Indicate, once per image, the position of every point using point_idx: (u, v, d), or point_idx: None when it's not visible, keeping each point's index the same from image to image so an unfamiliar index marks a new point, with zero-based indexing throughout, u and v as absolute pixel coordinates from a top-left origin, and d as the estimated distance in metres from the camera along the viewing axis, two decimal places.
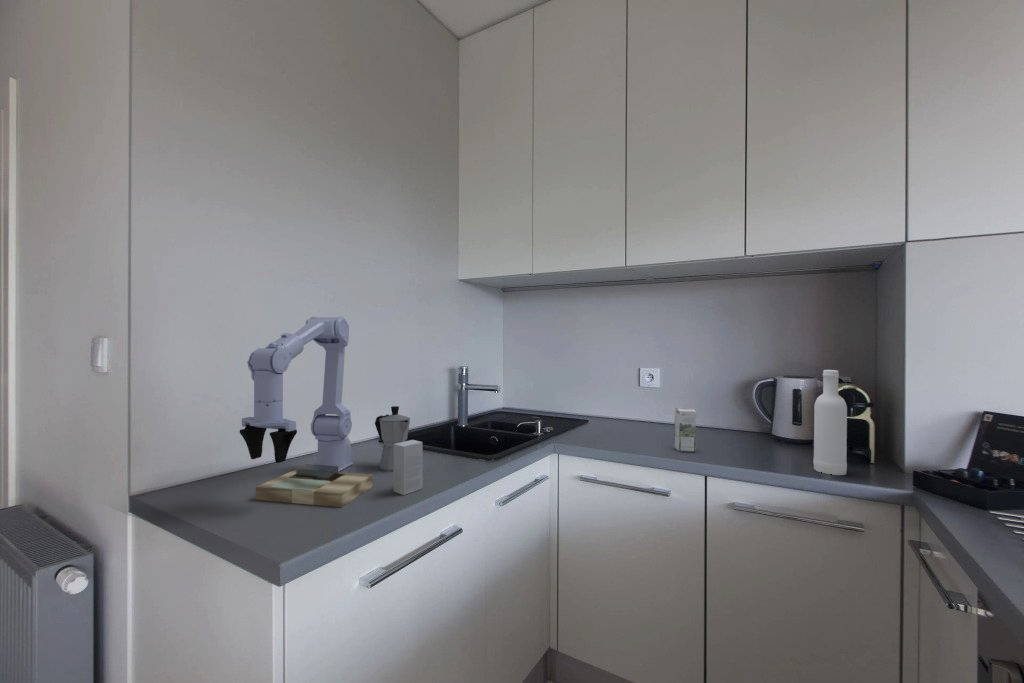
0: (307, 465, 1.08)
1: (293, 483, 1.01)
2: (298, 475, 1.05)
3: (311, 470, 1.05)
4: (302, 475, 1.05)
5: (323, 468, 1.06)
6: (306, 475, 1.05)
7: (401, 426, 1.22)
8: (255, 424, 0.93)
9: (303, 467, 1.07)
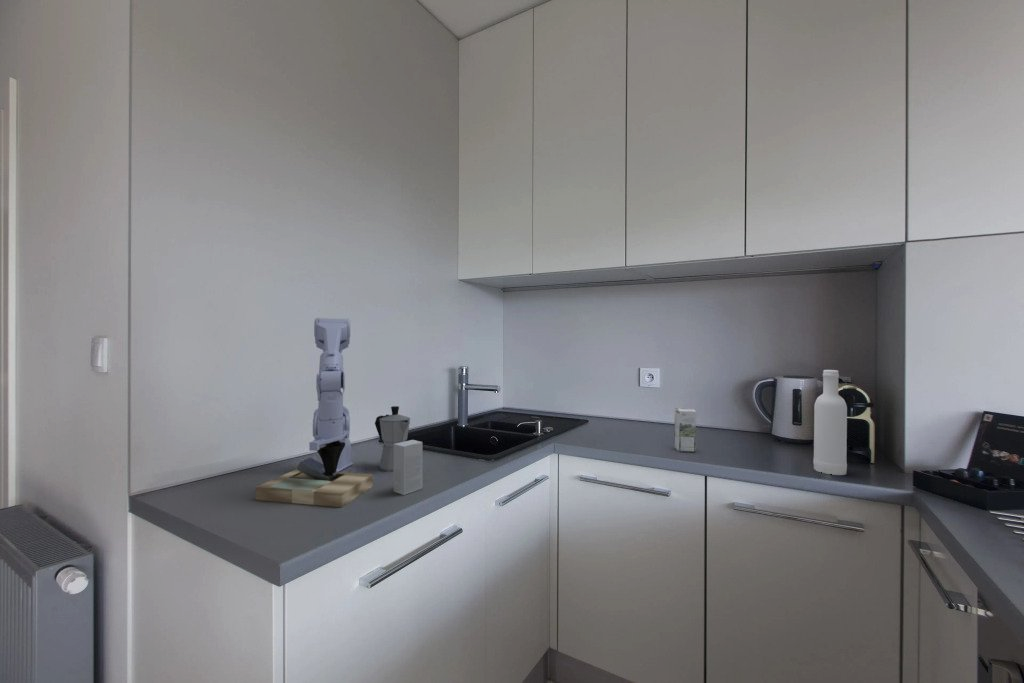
0: (310, 460, 1.08)
1: (293, 483, 1.01)
2: (299, 468, 1.05)
3: (313, 470, 1.05)
4: (303, 470, 1.05)
5: None
6: (307, 472, 1.05)
7: (401, 426, 1.22)
8: (314, 437, 1.06)
9: (306, 462, 1.06)
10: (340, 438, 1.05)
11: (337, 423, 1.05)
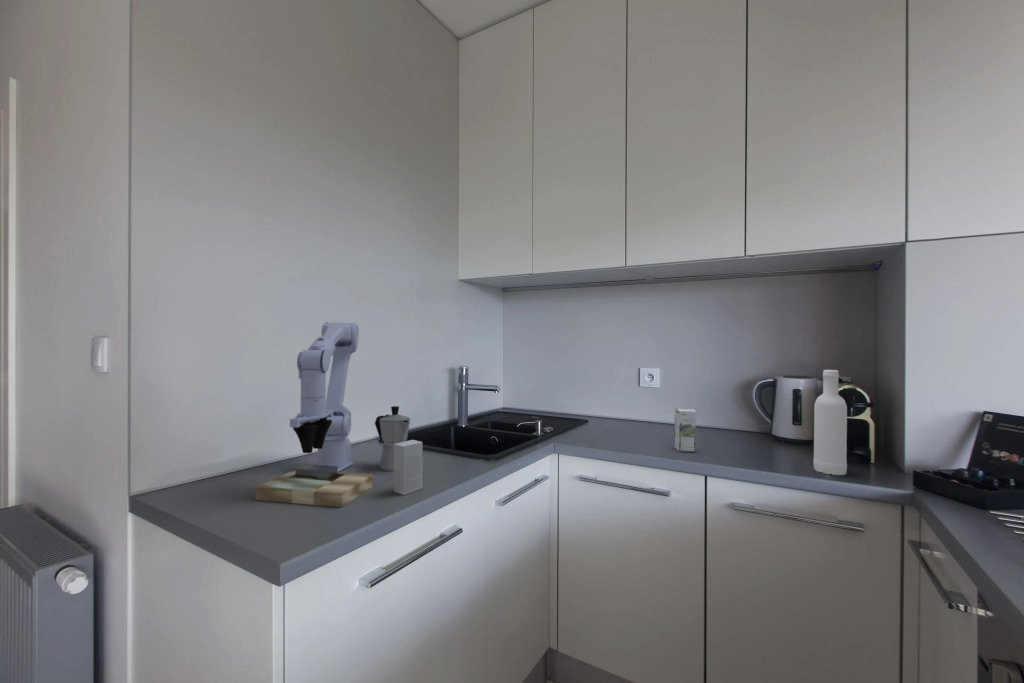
0: (306, 465, 1.08)
1: (293, 483, 1.01)
2: (297, 475, 1.05)
3: (310, 470, 1.05)
4: (301, 475, 1.05)
5: (323, 468, 1.06)
6: (305, 475, 1.05)
7: (401, 426, 1.22)
8: (297, 415, 1.07)
9: (302, 467, 1.07)
10: (322, 416, 1.06)
11: (319, 401, 1.05)
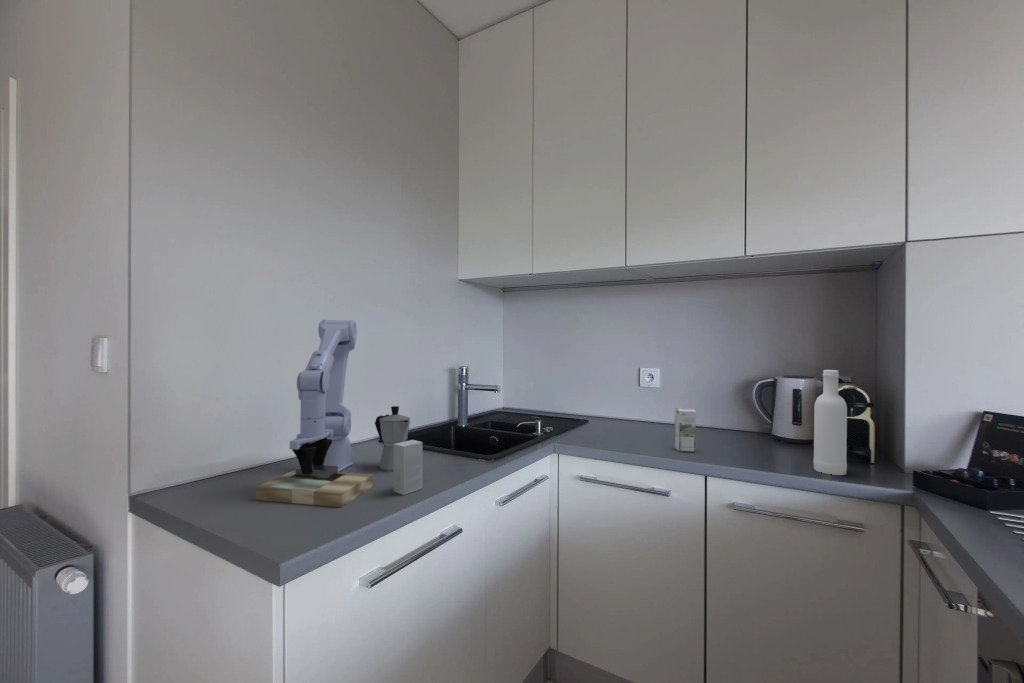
0: None
1: (293, 483, 1.01)
2: (297, 475, 1.05)
3: None
4: (301, 475, 1.05)
5: (323, 468, 1.06)
6: (305, 475, 1.05)
7: (401, 426, 1.22)
8: None
9: None
10: (322, 437, 1.06)
11: (319, 422, 1.05)
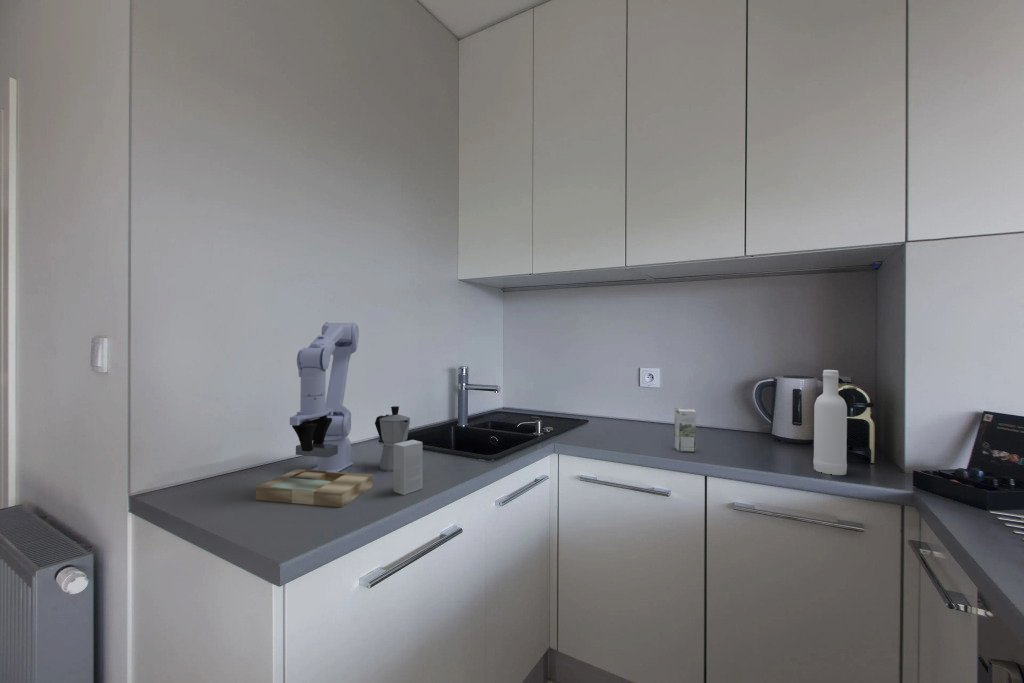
0: None
1: (293, 483, 1.01)
2: (297, 452, 1.05)
3: None
4: (301, 452, 1.05)
5: (323, 446, 1.06)
6: (305, 452, 1.05)
7: (401, 426, 1.22)
8: None
9: None
10: (322, 414, 1.06)
11: (319, 399, 1.05)
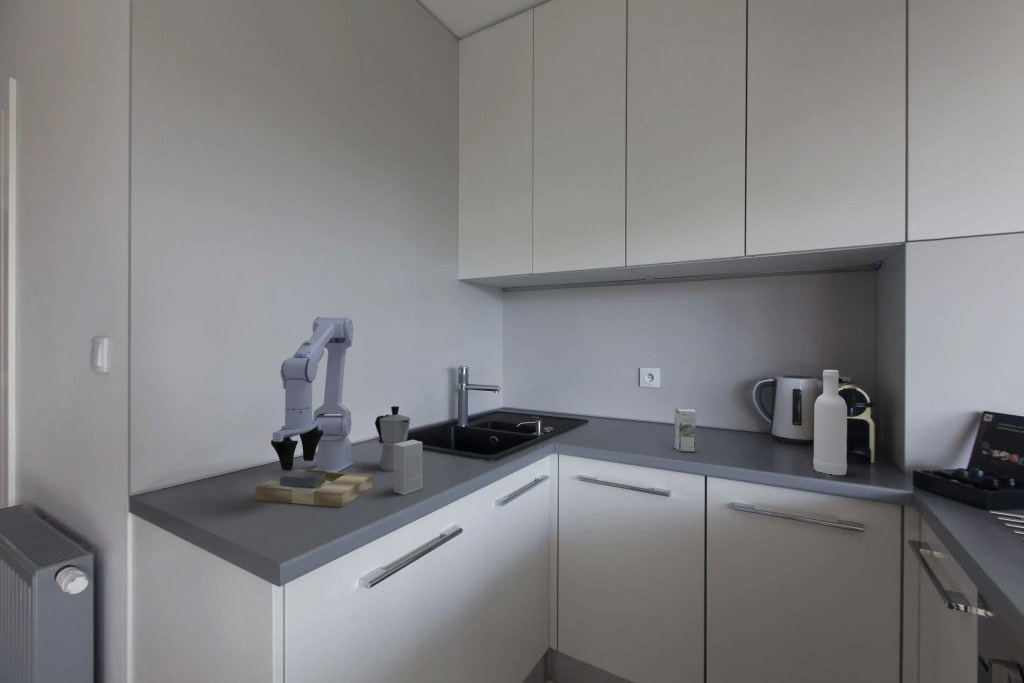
0: (292, 472, 1.02)
1: None
2: (282, 483, 0.99)
3: (296, 478, 0.98)
4: (286, 483, 0.99)
5: (309, 475, 0.99)
6: (291, 483, 0.99)
7: (401, 426, 1.22)
8: None
9: (288, 474, 1.00)
10: (308, 429, 0.99)
11: (304, 413, 0.99)
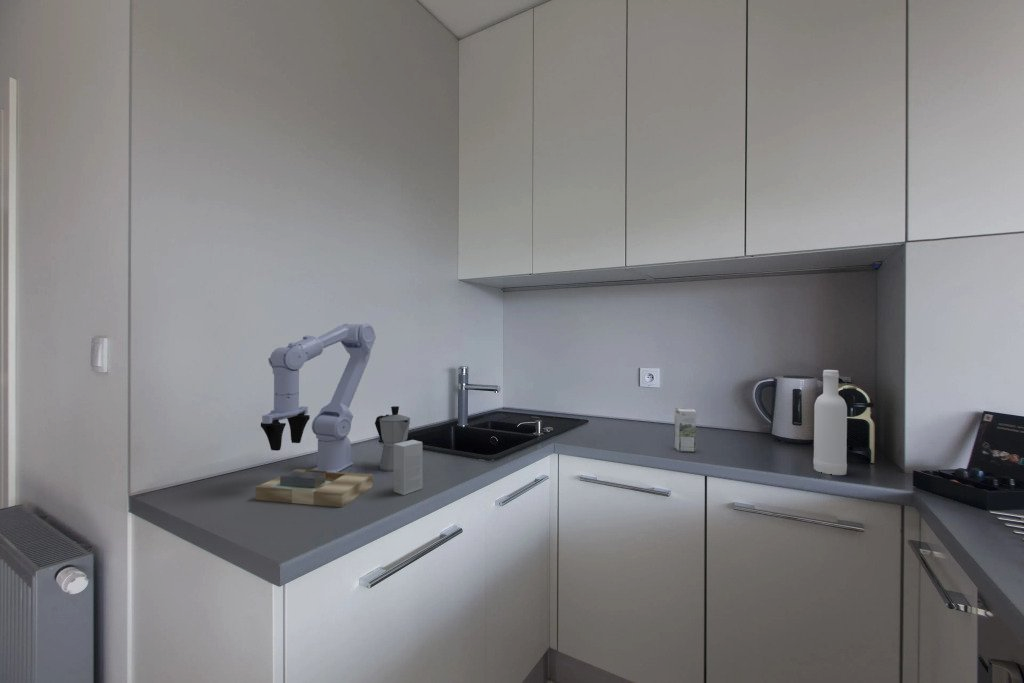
0: (292, 472, 1.02)
1: None
2: (282, 483, 0.99)
3: (296, 478, 0.98)
4: (286, 483, 0.99)
5: (309, 475, 0.99)
6: (291, 483, 0.99)
7: (401, 426, 1.22)
8: None
9: (288, 474, 1.00)
10: (295, 413, 1.08)
11: (292, 398, 1.07)
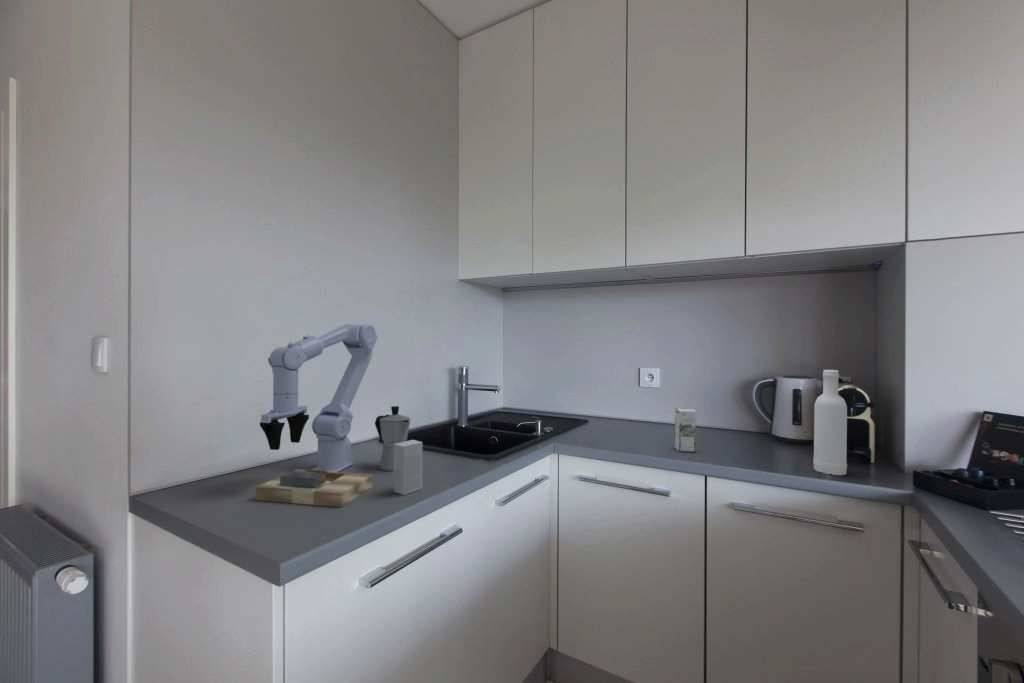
0: (292, 472, 1.02)
1: None
2: (282, 483, 0.99)
3: (296, 478, 0.98)
4: (286, 483, 0.99)
5: (309, 475, 0.99)
6: (291, 483, 0.99)
7: (401, 426, 1.22)
8: (270, 411, 1.09)
9: (288, 474, 1.00)
10: (294, 412, 1.08)
11: (291, 398, 1.08)
